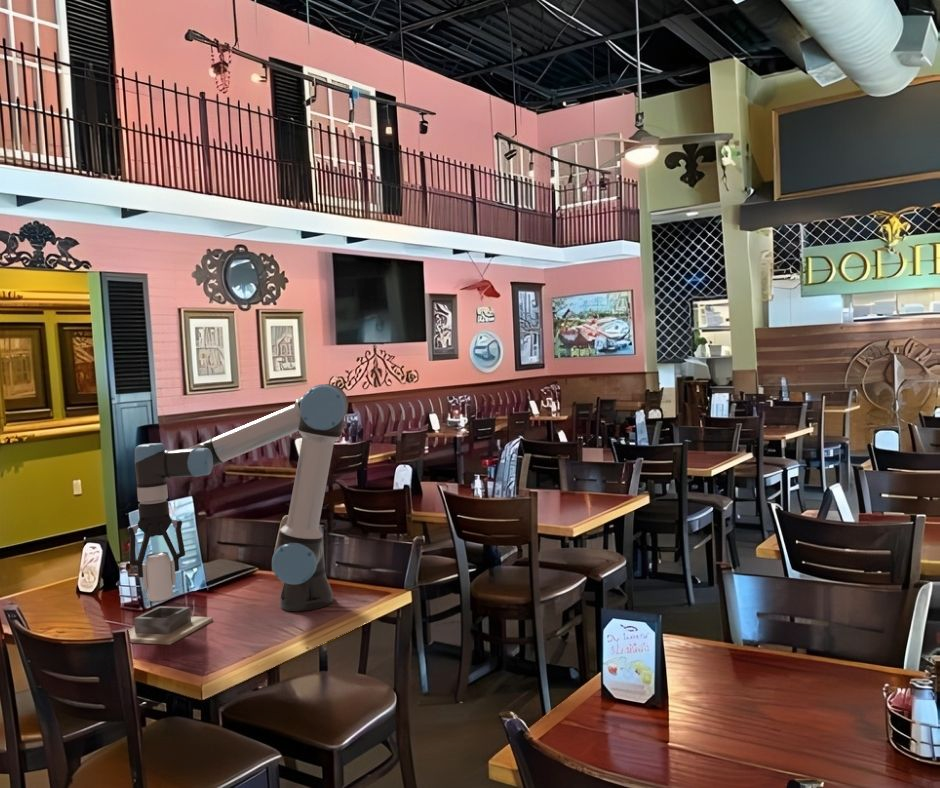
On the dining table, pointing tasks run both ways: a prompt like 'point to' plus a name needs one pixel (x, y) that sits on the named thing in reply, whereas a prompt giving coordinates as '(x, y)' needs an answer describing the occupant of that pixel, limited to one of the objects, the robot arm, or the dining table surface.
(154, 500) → the robot arm
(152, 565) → the can
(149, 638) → the socket
